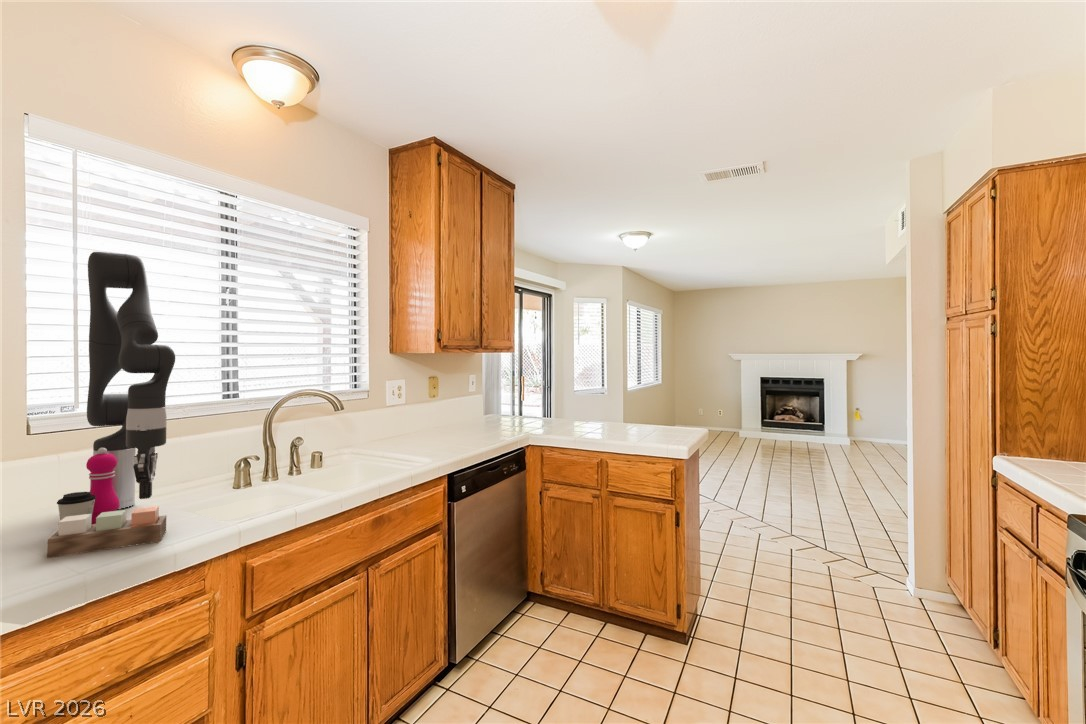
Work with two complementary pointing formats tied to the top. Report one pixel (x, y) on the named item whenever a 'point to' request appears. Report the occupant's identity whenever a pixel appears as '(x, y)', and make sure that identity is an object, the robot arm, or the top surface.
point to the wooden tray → (105, 538)
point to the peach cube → (145, 515)
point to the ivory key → (75, 524)
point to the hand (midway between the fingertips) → (145, 497)
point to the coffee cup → (76, 504)
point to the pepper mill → (102, 483)
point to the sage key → (111, 520)
